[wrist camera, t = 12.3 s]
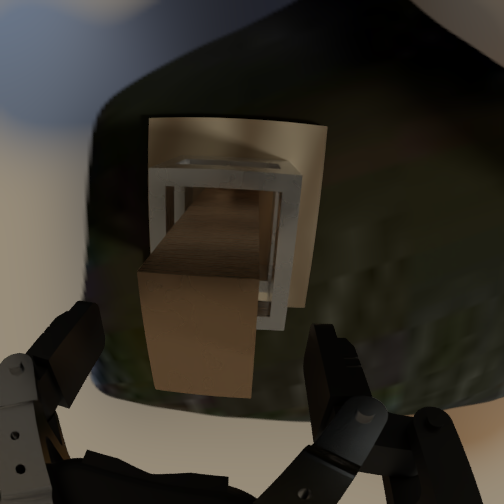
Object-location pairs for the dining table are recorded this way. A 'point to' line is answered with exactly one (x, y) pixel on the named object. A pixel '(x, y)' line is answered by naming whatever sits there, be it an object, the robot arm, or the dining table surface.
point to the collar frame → (235, 177)
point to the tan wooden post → (205, 296)
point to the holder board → (263, 147)
